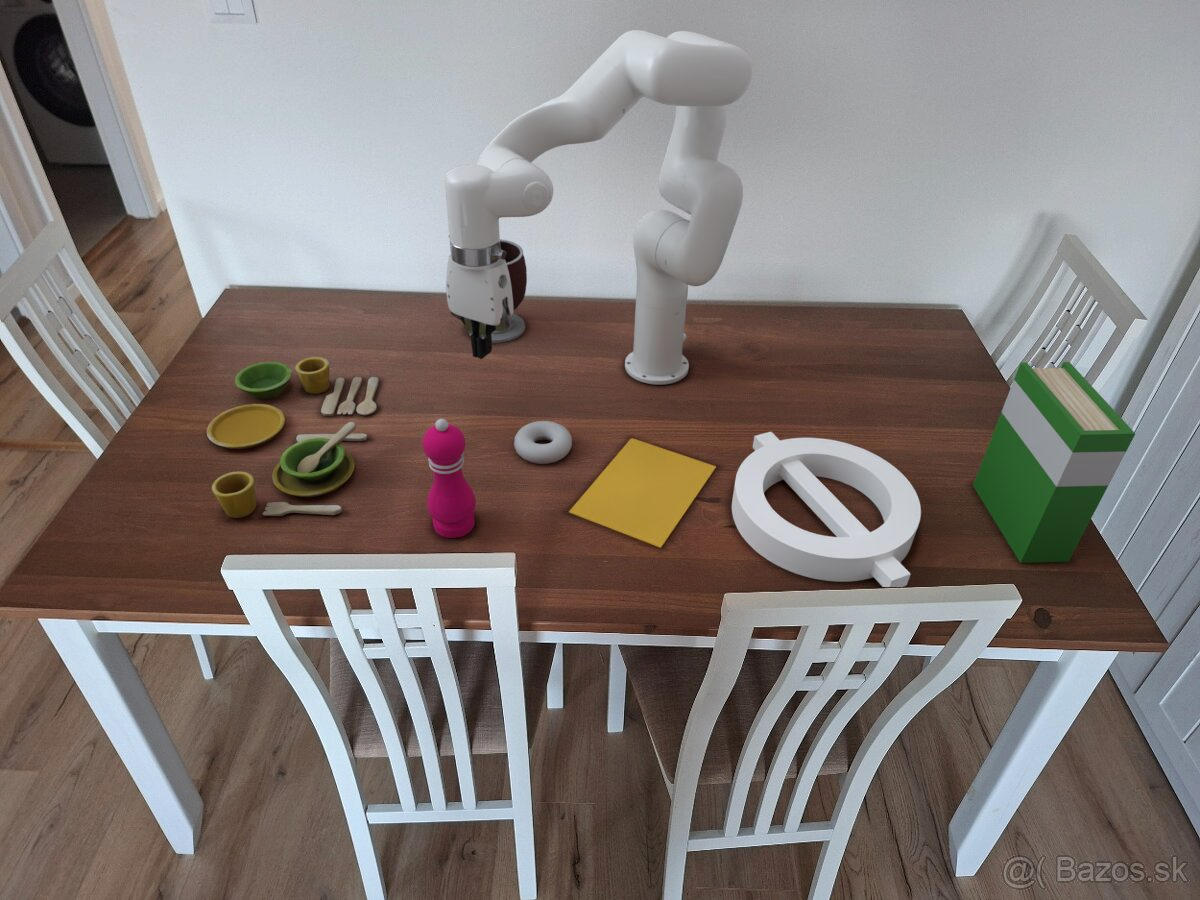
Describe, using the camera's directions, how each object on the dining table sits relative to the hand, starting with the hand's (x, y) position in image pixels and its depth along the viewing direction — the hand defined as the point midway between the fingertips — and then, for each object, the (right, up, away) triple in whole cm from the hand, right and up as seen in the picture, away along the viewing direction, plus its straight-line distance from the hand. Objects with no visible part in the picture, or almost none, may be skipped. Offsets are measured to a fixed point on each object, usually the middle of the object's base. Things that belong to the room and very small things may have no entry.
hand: (482, 354), depth 137 cm
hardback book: (+85, -27, -6) cm, 90 cm away
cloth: (+27, -22, -2) cm, 35 cm away
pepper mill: (-3, -28, -9) cm, 29 cm away
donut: (+10, -16, +6) cm, 20 cm away
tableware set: (-35, -15, +6) cm, 38 cm away
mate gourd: (-3, +10, +38) cm, 40 cm away
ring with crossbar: (+54, -26, -6) cm, 61 cm away
